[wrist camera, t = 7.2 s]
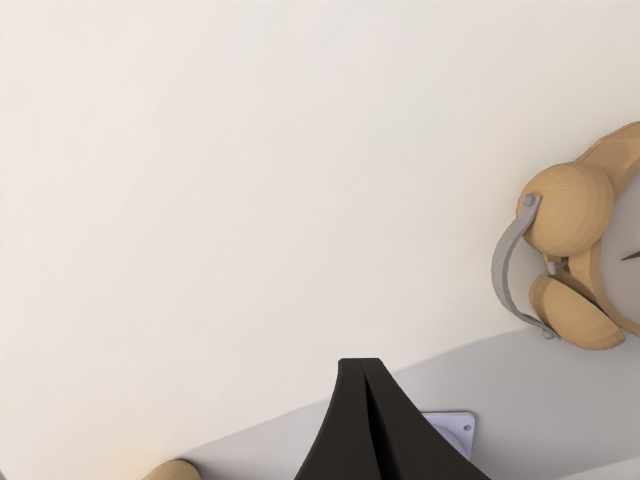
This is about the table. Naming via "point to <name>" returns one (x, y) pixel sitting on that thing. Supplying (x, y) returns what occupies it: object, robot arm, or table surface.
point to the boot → (174, 471)
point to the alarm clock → (582, 244)
